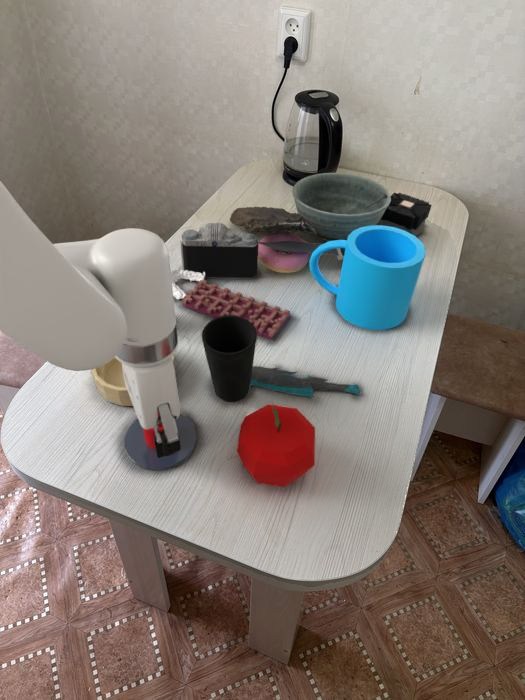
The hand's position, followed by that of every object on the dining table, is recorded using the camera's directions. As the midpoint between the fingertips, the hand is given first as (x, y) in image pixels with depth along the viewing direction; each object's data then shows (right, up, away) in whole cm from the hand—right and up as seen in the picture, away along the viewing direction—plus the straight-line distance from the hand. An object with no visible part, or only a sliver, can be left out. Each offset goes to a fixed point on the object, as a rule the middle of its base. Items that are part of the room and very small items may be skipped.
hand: (159, 429), depth 70 cm
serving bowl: (-6, +7, +10) cm, 13 cm away
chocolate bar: (+9, +18, +23) cm, 30 cm away
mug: (+32, +20, +26) cm, 46 cm away
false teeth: (-1, +23, +28) cm, 36 cm away
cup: (+9, +5, +9) cm, 14 cm away
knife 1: (+28, +29, +30) cm, 50 cm away
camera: (+6, +27, +32) cm, 42 cm away
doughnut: (+18, +30, +35) cm, 49 cm away
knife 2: (+17, +6, +11) cm, 21 cm away
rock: (+23, +38, +35) cm, 57 cm away
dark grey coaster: (0, -2, +2) cm, 2 cm away
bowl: (+31, +37, +44) cm, 66 cm away
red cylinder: (0, -1, +1) cm, 2 cm away
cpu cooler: (+42, +44, +48) cm, 77 cm away
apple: (+16, -5, 0) cm, 17 cm away
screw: (+37, +41, +34) cm, 65 cm away
